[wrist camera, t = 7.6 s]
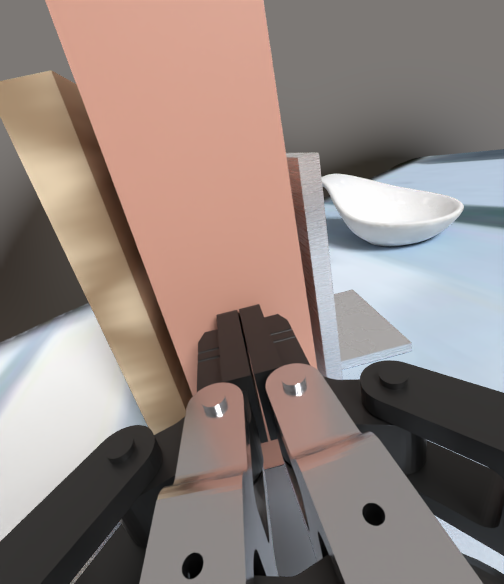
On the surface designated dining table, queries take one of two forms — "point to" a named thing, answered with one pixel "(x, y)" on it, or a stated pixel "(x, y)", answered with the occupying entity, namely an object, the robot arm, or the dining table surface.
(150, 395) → the board
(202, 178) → the book
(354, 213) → the spoon rest
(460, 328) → the dining table surface
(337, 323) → the bookend
